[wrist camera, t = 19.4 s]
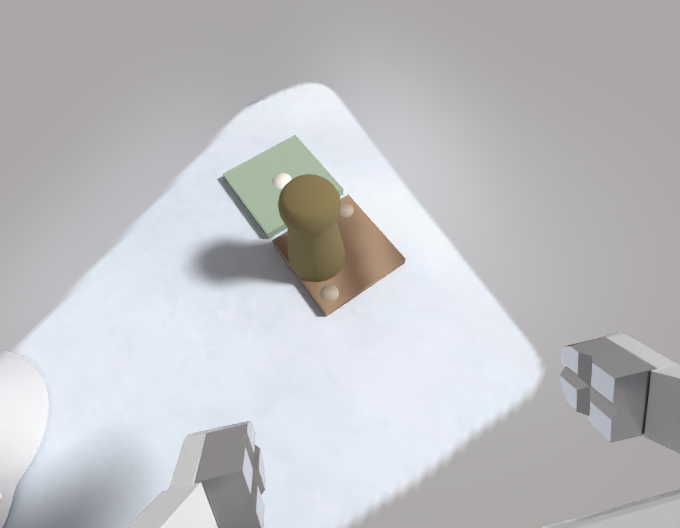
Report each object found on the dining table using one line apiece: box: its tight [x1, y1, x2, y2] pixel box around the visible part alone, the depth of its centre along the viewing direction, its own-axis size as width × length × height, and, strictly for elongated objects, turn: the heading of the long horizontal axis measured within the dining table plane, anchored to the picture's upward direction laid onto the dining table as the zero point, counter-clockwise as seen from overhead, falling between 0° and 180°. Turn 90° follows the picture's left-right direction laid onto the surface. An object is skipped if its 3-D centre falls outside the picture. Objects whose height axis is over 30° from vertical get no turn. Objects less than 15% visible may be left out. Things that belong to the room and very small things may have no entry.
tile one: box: [223, 135, 343, 238], centre depth 46 cm, size 10×10×1 cm
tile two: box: [273, 195, 405, 316], centre depth 42 cm, size 10×10×1 cm
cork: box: [278, 174, 346, 282], centre depth 37 cm, size 6×6×11 cm
